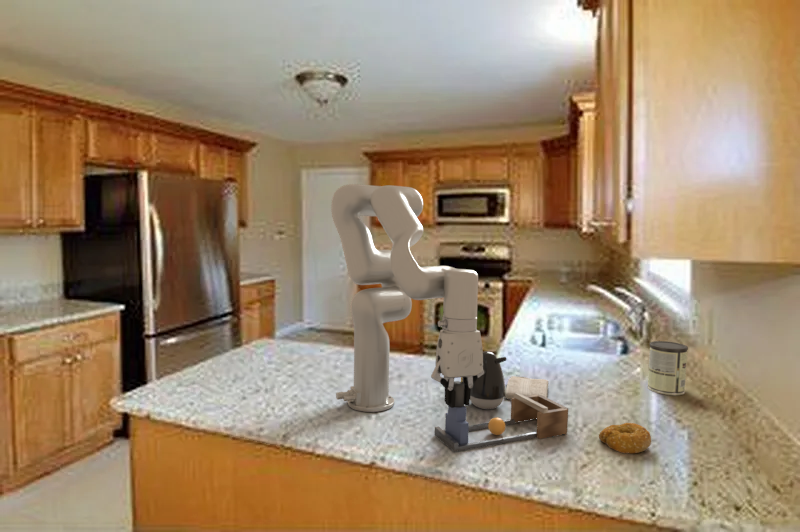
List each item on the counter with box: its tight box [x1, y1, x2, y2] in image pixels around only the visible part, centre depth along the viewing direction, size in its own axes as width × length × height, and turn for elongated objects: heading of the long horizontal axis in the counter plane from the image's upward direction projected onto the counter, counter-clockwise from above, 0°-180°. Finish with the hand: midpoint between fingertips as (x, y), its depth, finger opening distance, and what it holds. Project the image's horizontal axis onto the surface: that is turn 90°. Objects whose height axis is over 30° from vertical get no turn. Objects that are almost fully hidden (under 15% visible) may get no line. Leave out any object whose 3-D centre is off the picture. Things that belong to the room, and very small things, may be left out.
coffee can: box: [647, 340, 689, 396], centre depth 155 cm, size 10×10×14 cm
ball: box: [487, 416, 506, 436], centre depth 120 cm, size 4×4×4 cm
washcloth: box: [504, 375, 549, 400], centre depth 151 cm, size 12×18×3 cm, turn 164°
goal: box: [510, 393, 569, 440], centre depth 124 cm, size 9×11×7 cm
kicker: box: [444, 380, 470, 445], centre depth 115 cm, size 3×7×13 cm, turn 23°
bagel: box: [598, 422, 652, 455], centre depth 115 cm, size 10×11×5 cm
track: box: [434, 418, 537, 453], centre depth 119 cm, size 22×9×2 cm, turn 113°
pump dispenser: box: [469, 350, 507, 410], centre depth 138 cm, size 10×10×15 cm
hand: (457, 404), depth 115 cm, fingers closed on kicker, 3 cm apart
